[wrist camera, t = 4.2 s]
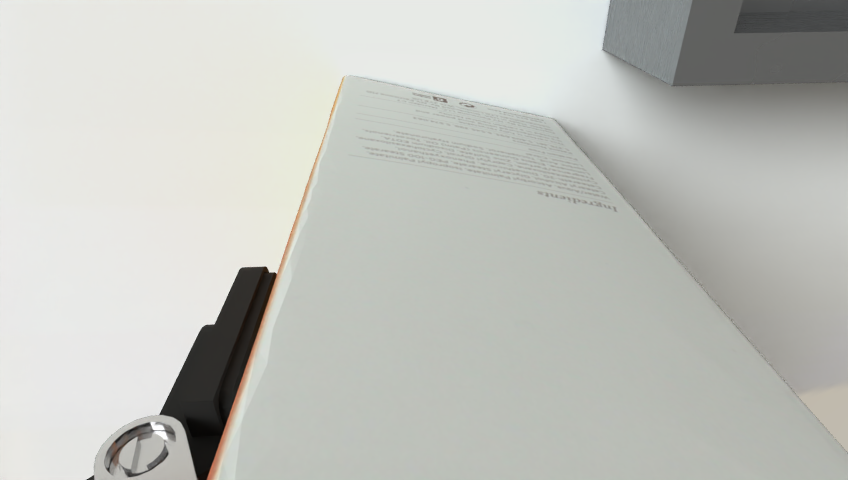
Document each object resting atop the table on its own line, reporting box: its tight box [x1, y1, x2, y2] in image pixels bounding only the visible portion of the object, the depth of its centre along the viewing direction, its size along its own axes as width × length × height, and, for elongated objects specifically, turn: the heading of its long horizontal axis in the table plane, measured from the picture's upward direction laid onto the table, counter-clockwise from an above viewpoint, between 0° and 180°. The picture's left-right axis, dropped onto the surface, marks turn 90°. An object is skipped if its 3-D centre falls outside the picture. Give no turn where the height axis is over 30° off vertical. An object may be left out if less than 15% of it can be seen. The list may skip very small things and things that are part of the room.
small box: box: [207, 75, 848, 480], centre depth 11 cm, size 8×6×13 cm
